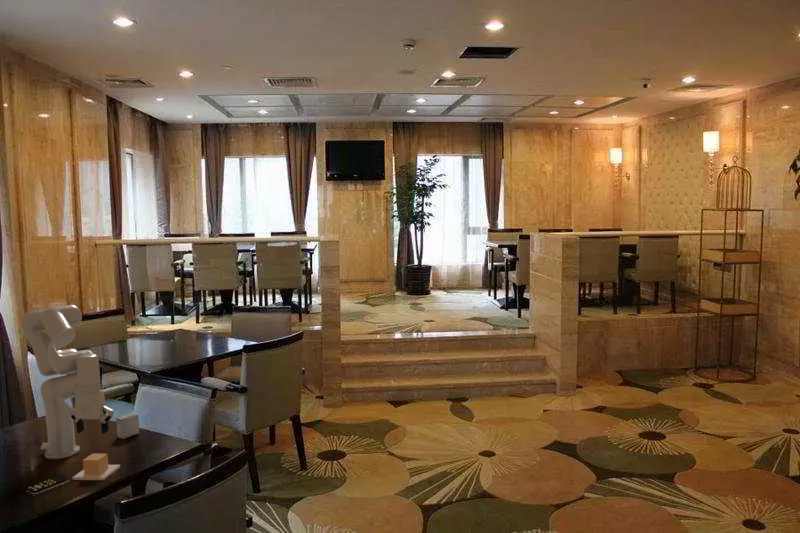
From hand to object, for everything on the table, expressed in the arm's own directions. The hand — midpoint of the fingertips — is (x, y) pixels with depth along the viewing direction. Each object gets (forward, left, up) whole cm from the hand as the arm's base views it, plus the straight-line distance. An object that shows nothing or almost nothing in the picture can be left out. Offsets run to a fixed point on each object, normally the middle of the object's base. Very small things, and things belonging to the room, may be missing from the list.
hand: (92, 432), depth 229 cm
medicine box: (-9, +38, -16) cm, 42 cm away
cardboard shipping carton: (0, 0, -15) cm, 15 cm away
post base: (0, 0, -16) cm, 16 cm away
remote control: (-11, -11, -17) cm, 23 cm away
